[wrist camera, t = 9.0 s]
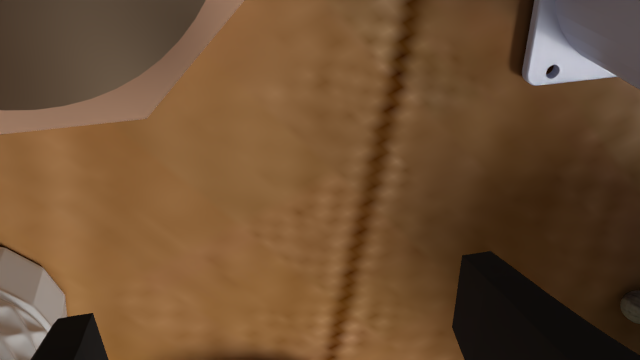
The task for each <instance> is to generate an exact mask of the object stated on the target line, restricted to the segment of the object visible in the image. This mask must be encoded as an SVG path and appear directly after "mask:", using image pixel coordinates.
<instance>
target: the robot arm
mask: <svg viewBox="0 0 640 360" xmlns="http://www.w3.org/2000/svg"><path fill="white" fill-rule="evenodd" d="M552 65H554V67H553V70H552V71H551V72H550V73H549V74H546V71H547V69H548V68H549V67H550V66H552ZM522 76H523V78H524V80H525V81H527V82H528V83H529V84H531V85H535V86H538V85H547V84H556V83H565V82H574V81H583V80H593V79H602V78H611V77H619V78H621V79H623V80H624V81H626V82H628V83H629V84H631V85H633V86H635V87H636V88H638V89H640V0H534V6H533V11H532V17H531V23H530V29H529V34H528V40H527V46H526V52H525V57H524V63H523V69H522ZM452 328H453V331H454V333H455V336H456V339H457V341H458V344H459V346H460V349H461V352H462V354H463V357H464V359H465V360H640V355H638V354H636V353H635V352H633V351H632V350H630V349H629V348H627V347H625V346H624V345H622V344H621V343H619V342H618V341H616V340H614V339H613V338H611V337H610V336H608V335H607V334H605V333H604V332H602V331H601V330H599V329H598V328H596V327H595V326H593V325H592V324H590V323H589V322H587V321H586V320H584V319H583V318H581V317H580V316H579V315H577V314H576V313H574V312H573V311H571V310H570V309H569V308H567V307H566V306H564V305H563V304H562V303H560V302H559V301H557V300H556V299H555V298H553V297H552V296H551V295H549V294H548V293H546V292H545V291H544V290H542V289H541V288H540V287H538V286H537V285H536V284H534V283H533V282H532V281H530V280H529V279H528V278H526V277H525V276H524V275H522V274H521V273H520V272H518V271H517V270H516V269H514V268H513V267H512V266H510V265H509V264H507V263H506V262H505V261H503V260H502V259H501V258H499V257H498V256H496V255H495V254H494V253H492V252H491V251H488V252H482V253H476V254H469V255H463V256H462V261H461V268H460V275H459V282H458V289H457V296H456V304H455V311H454V318H453V325H452ZM31 360H108V357H107V354H106V351H105V348H104V345H103V342H102V339H101V336H100V333H99V330H98V327H97V324H96V321H95V318H94V315H93V313H90V314H83V315H77V316H71V317H64V318H58V319H57V320H56V322H55V323H54V324H53V325H52V327H51V328H50V330H49V332H48V333H47V335H46V336H45V338H44V339H43V341H42V342H41V344H40V346H39V347H38V349H37V350H36V352H35V353H34V355H33V357H32V358H31Z"/></svg>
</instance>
